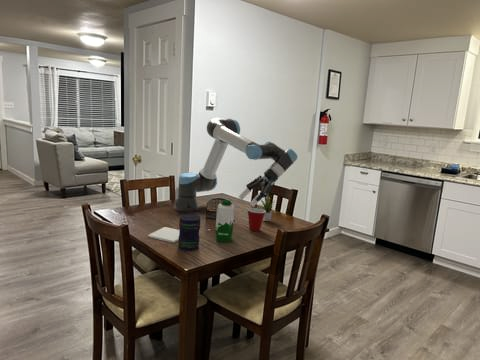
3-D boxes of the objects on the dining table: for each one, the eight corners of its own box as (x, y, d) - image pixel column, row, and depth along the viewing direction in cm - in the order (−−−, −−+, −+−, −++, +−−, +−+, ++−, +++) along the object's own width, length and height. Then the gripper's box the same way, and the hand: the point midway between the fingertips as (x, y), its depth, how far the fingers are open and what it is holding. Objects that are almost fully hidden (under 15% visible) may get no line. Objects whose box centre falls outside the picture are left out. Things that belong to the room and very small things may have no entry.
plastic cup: (266, 229, 202) (268, 209, 199) (260, 234, 192) (262, 213, 189) (249, 225, 205) (251, 205, 203) (242, 230, 196) (244, 209, 193)
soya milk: (232, 237, 184) (235, 200, 180) (231, 243, 175) (234, 204, 171) (215, 235, 184) (218, 199, 180) (214, 242, 175) (216, 203, 171)
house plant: (249, 216, 223) (251, 191, 220) (269, 216, 227) (272, 192, 224) (257, 224, 209) (260, 197, 206) (278, 223, 214) (281, 197, 211)
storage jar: (192, 242, 172) (194, 213, 170) (202, 249, 165) (204, 218, 162) (174, 245, 166) (175, 215, 164) (184, 252, 159) (185, 221, 156)
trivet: (164, 228, 188) (164, 226, 188) (189, 234, 183) (189, 232, 183) (148, 236, 174) (148, 235, 174) (174, 242, 169) (174, 241, 169)
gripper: (290, 182, 174) (260, 213, 171) (266, 173, 196) (240, 200, 193) (282, 172, 171) (252, 202, 167) (258, 164, 193) (231, 190, 190)
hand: (245, 201), depth 180 cm, fingers open, 13 cm apart
